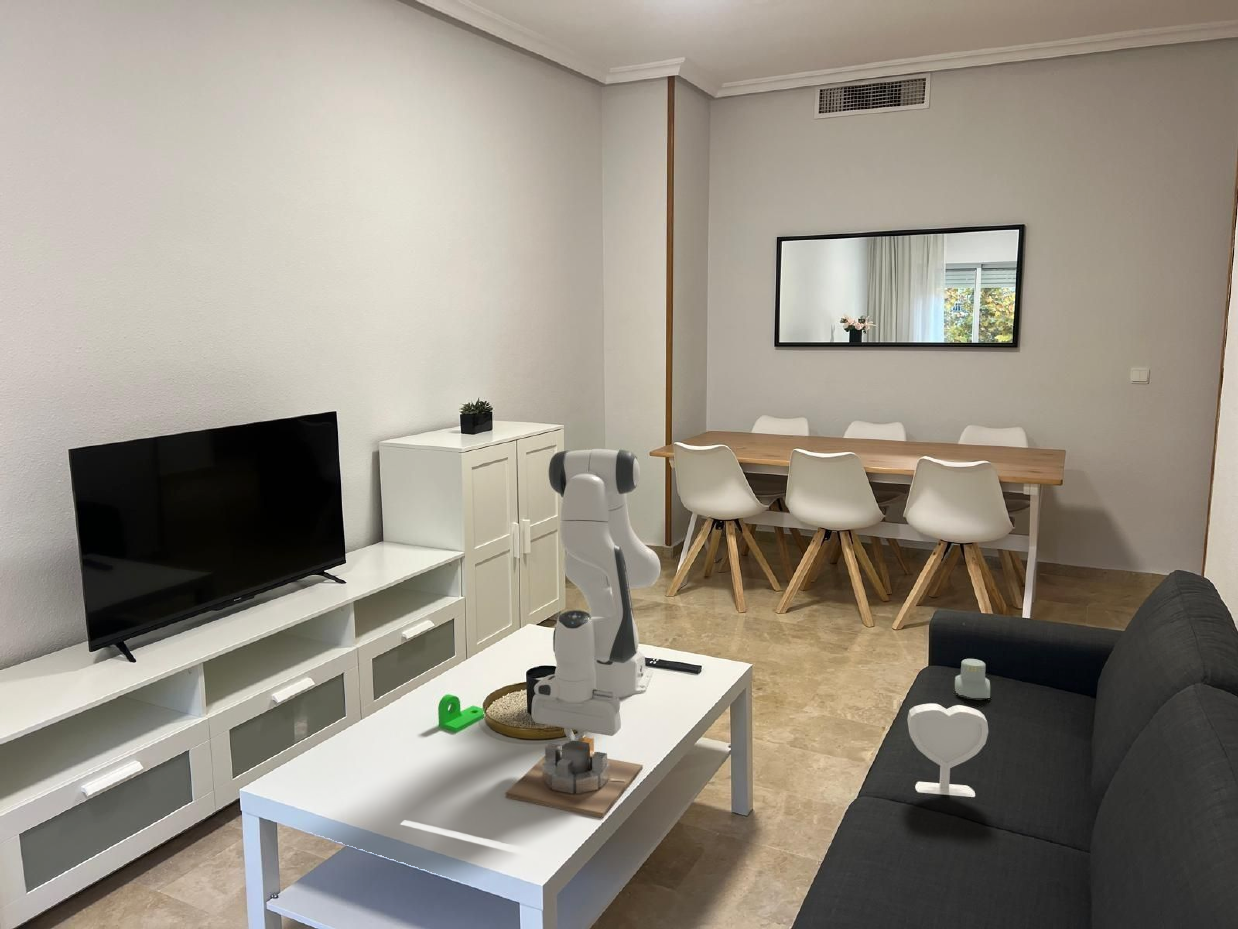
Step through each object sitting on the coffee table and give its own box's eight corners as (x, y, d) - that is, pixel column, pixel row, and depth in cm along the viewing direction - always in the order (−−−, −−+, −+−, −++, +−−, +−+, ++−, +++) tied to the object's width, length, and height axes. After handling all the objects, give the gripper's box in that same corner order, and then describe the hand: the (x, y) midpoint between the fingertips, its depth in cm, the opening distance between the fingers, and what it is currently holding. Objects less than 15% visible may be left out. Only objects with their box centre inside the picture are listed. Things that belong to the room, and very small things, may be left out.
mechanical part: (456, 736, 221) (455, 704, 220) (438, 730, 224) (437, 698, 223) (490, 718, 231) (490, 688, 230) (473, 713, 234) (472, 683, 233)
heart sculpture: (907, 792, 193) (910, 710, 190) (904, 780, 198) (907, 700, 195) (985, 798, 190) (990, 715, 187) (980, 786, 195) (985, 705, 192)
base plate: (552, 752, 212) (552, 719, 210) (642, 769, 203) (642, 734, 202) (505, 797, 191) (504, 761, 190) (603, 818, 183) (603, 780, 182)
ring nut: (561, 758, 206) (561, 732, 205) (617, 768, 201) (617, 742, 200) (533, 785, 194) (532, 758, 193) (592, 797, 188) (592, 770, 188)
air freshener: (954, 689, 247) (955, 653, 246) (987, 693, 245) (989, 657, 243) (955, 705, 237) (957, 668, 236) (989, 709, 235) (992, 671, 233)
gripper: (625, 688, 199) (625, 748, 201) (540, 675, 207) (541, 733, 209) (613, 699, 194) (614, 761, 196) (527, 685, 201) (528, 745, 203)
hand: (576, 746), depth 203 cm, fingers closed
